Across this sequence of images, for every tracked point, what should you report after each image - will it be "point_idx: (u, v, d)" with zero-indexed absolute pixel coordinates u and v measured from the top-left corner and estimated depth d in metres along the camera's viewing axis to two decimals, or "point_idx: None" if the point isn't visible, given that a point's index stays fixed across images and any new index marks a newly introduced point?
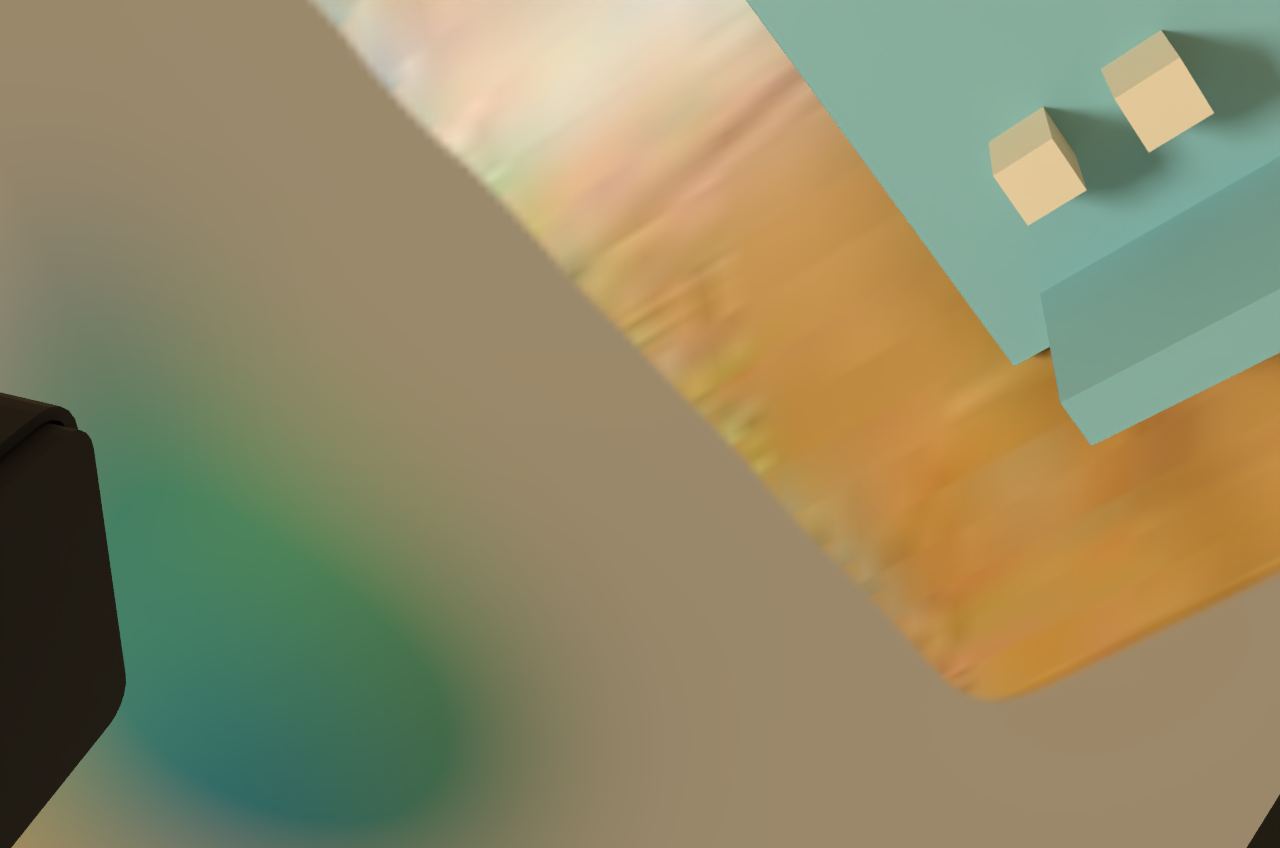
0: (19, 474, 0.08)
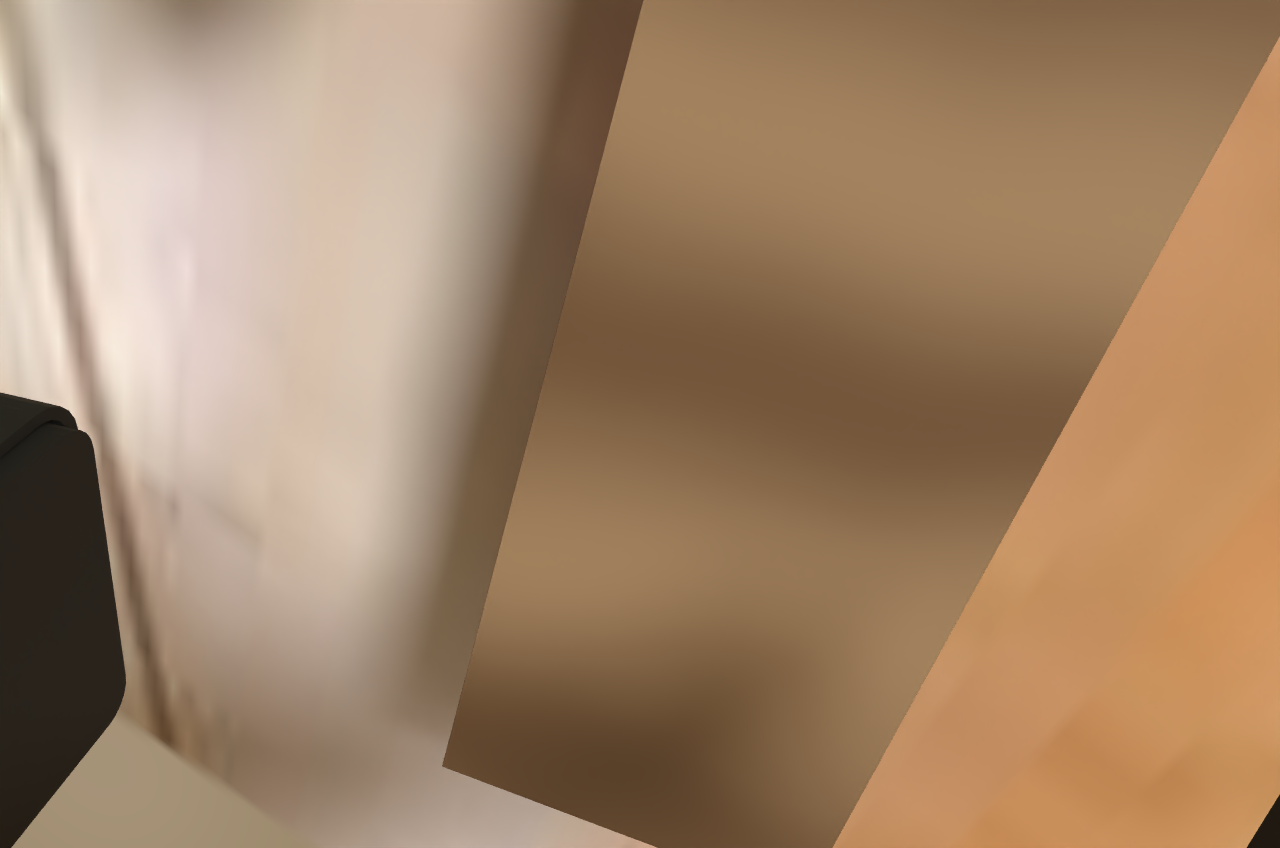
0: (19, 474, 0.08)
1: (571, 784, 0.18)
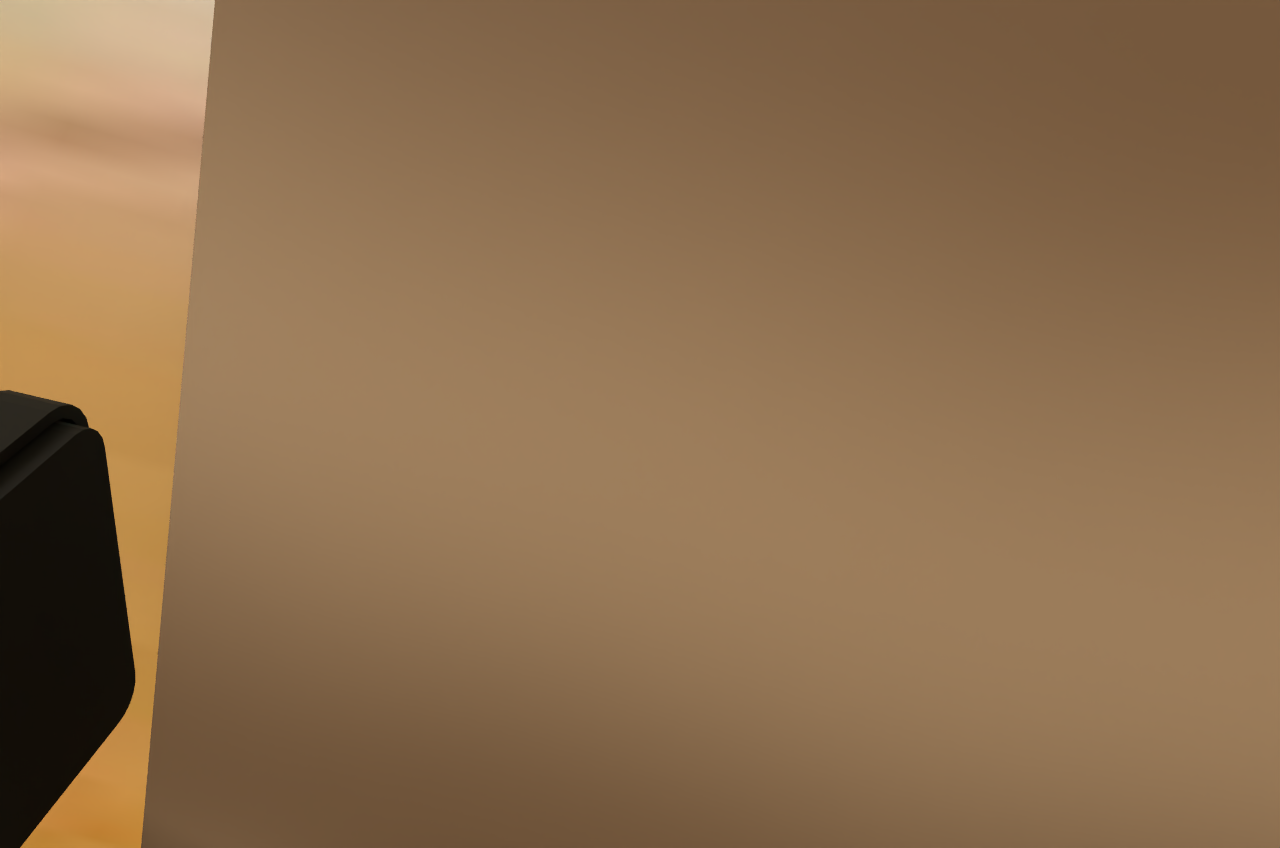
0: (31, 472, 0.08)
1: None
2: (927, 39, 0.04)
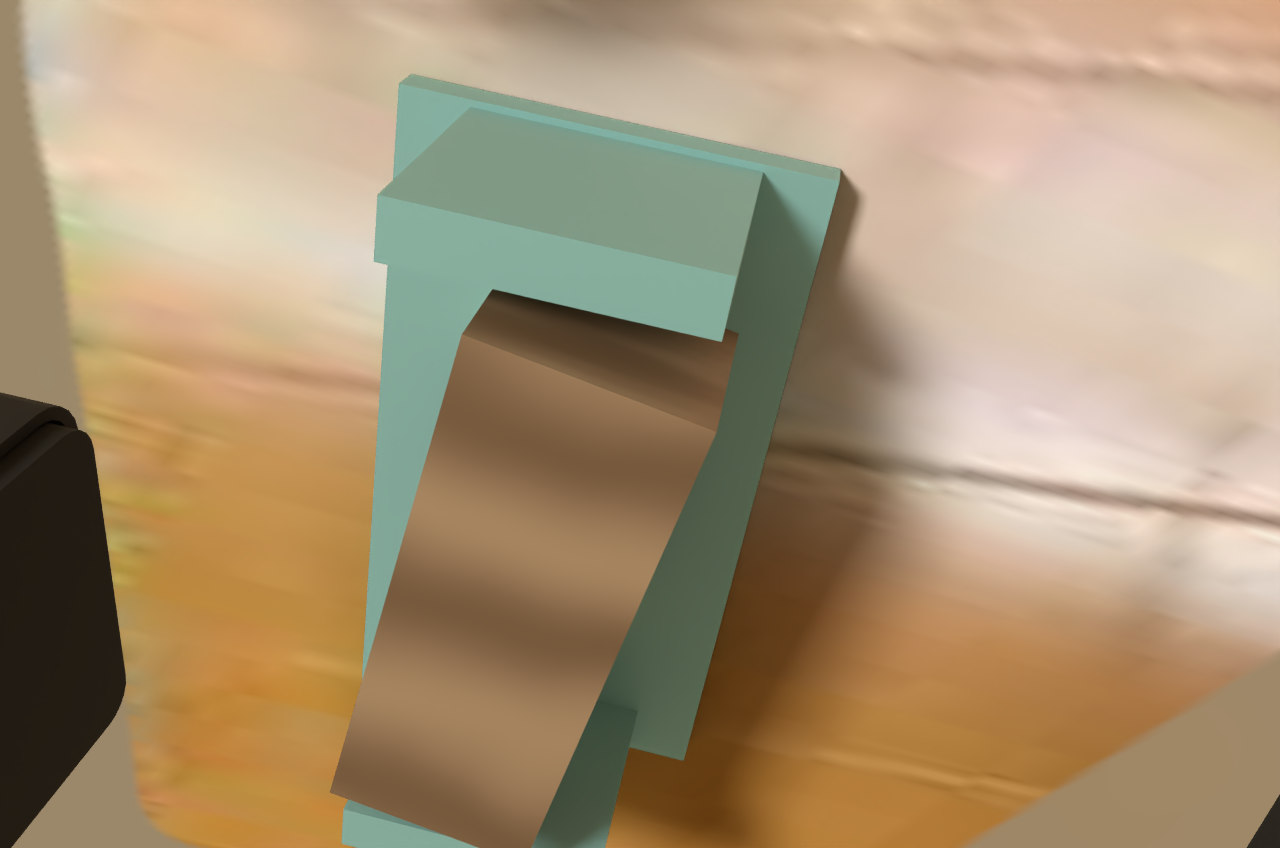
0: (19, 474, 0.08)
1: (400, 802, 0.34)
2: (545, 463, 0.28)
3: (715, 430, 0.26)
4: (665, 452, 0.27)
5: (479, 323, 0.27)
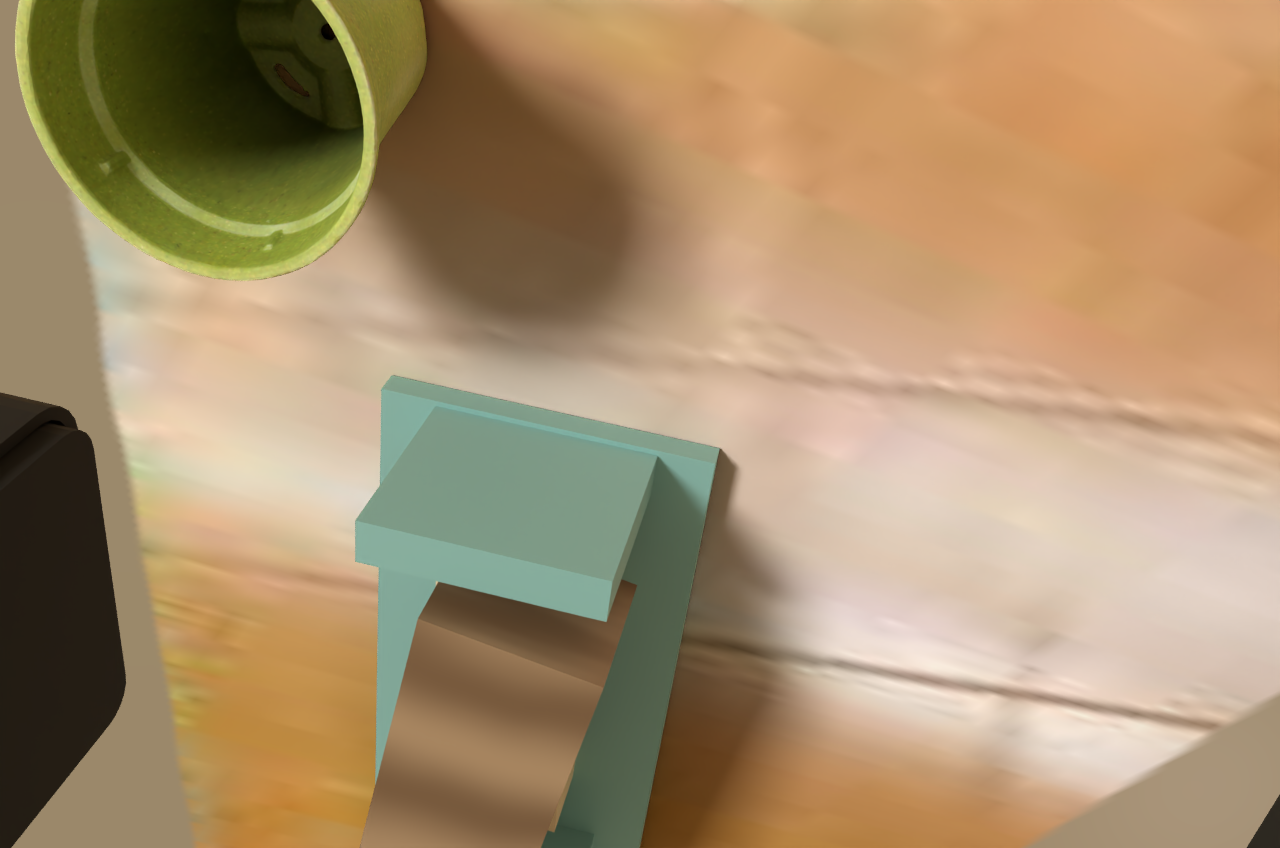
0: (19, 474, 0.08)
1: None
2: (483, 702, 0.38)
3: (602, 686, 0.36)
4: (569, 698, 0.37)
5: (432, 605, 0.37)
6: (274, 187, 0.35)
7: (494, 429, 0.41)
